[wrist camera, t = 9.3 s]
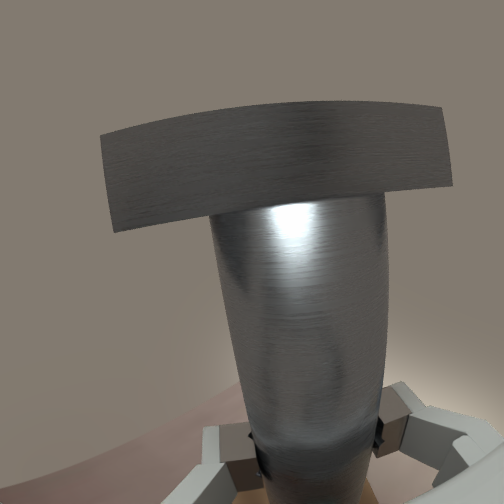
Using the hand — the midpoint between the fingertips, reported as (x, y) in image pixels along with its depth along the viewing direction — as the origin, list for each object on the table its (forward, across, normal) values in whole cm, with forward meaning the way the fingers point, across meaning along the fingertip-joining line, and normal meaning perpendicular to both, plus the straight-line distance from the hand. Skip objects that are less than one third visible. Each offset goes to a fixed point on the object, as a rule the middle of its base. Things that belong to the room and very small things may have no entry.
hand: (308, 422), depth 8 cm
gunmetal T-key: (-1, 0, +9) cm, 9 cm away
